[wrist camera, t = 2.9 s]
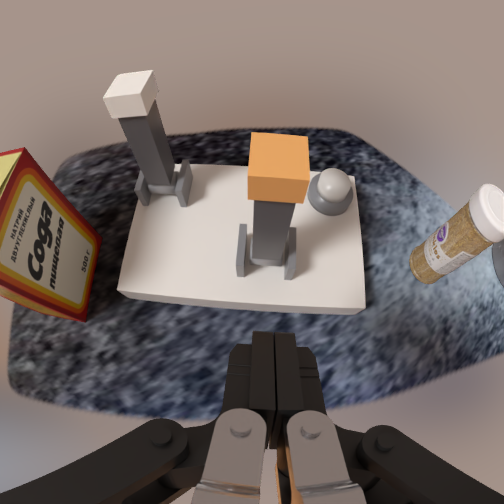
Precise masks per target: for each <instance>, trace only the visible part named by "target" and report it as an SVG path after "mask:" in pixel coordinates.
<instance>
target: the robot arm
mask: <svg viewBox="0 0 504 504" xmlns="http://www.w3.org/2000/svg"><path fill="white" fill-rule="evenodd" d="M493 263H494V267H495V270H496V273H497V276H498V278H499V280H500V282H501V284H502V285H503V287H504V239H503V240H501V241H500V242H497V243H494V244H493ZM317 368H318V367H317V362H316V357H315V356H314V354H313V353H312V352H311V350H310V349H309V348H308V347H296V340H295V334H294V333H283V332H274V335H273V332H263V331H253V335H252V345H249V344H237V345H236V346H235V347H234V348H233V350H232V351H231V352H230V356H229V363H228V370H227V377H226V384H225V391H224V399H223V406H222V410H221V412H220V414H219V416H218V417H217V418H216V419H215V420H213V421H212V422H210V423H208V424H206V425H202V426H197V427H189V428H183V427H182V426H181V425H180V424H179V423H177V422H175V421H173V420H170V419H163V418H160V419H153V420H150V421H148V422H146V423H145V424H143V425H141V426H139V427H138V428H136V429H134V430H133V431H131V432H129V433H127V434H125V435H124V436H122V437H120V438H118V439H116V440H115V441H113V442H111V443H109V444H107V445H105V446H104V447H102V448H100V449H98V450H96V451H94V452H92V453H90V454H88V455H86V456H84V457H82V458H81V459H78V460H76V461H74V462H72V463H70V464H68V465H66V466H64V467H62V468H60V469H58V470H56V471H54V472H51V473H49V474H47V475H45V476H42V477H40V478H38V479H36V480H33V481H31V482H28V483H26V484H23V485H21V486H19V487H16V488H14V489H11V490H8V491H6V492H3V493H0V504H169V503H171V502H172V501H174V500H175V499H177V498H178V497H180V496H181V495H182V494H184V493H185V492H187V491H188V490H190V489H191V488H192V487H196V488H195V491H194V494H193V497H192V501H191V504H259V500H260V483H261V474H262V465H263V456H264V452H265V449H267V447H268V443H269V449H277V462H276V465H275V475H276V484H277V493H278V503H279V504H504V496H503V495H501V494H500V493H498V492H496V491H494V490H492V489H490V488H489V487H487V486H485V485H484V484H482V483H480V482H479V481H477V480H475V479H473V478H472V477H470V476H468V475H467V474H465V473H463V472H462V471H460V470H459V469H457V468H455V467H454V466H452V465H451V464H449V463H447V462H446V461H444V460H443V459H441V458H439V457H438V456H436V455H435V454H433V453H432V452H430V451H429V450H427V449H426V448H424V447H423V446H421V445H419V444H418V443H416V442H415V441H413V440H412V439H410V438H409V437H407V436H406V435H404V434H403V433H402V432H400V431H399V430H397V429H395V428H394V427H391V426H387V425H378V426H375V427H372V428H370V429H369V430H368V431H367V432H366V433H361V432H356V431H351V430H346V429H343V428H341V427H338V426H337V425H335V424H334V423H333V421H332V420H331V419H330V418H329V417H328V416H327V414H326V410H325V404H324V399H323V393H322V388H321V383H320V379H319V372H318V370H317Z"/></svg>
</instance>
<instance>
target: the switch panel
mask: <svg viewBox="0 0 504 504" xmlns="http://www.w3.org/2000/svg"><path fill="white" fill-rule="evenodd" d="M174 171H178V172H179V176H178V180H177V184H176V188H175V193H176V194H151V193H150V192H149V189H148V184H147V182H146V180H145V177H144V175H143V173H142V171H141V170H140V173H139V177H138V180H137V183H136V186H135V189H134V191H135V193H136V195H137V196H138V198H139V199H138V203H137V206H136V210H135V214H134V217H133V221H132V225H131V229H130V233H129V237H128V241H127V245H126V249H125V254H124V258H123V263H122V268H121V272H120V277H119V282H118V287H117V290H118V291H119V292H121V293H122V294H124V295H125V296H126V297H128V298H131V299H139V300H147V301H156V302H165V303H174V304H183V305H193V306H204V307H215V308H227V309H240V310H254V311H270V312H288V313H310V314H341V315H355V314H357V313H358V312H360V311H362V310H363V309H365V282H364V265H363V252H362V240H361V229H360V220H359V211H358V202H357V194H356V187H355V180H354V176H348V175H347V174H346V173H344V172H343V171H341V170H339V169H335V168H329V169H326V170H324V171H323V172H313V171H310V183H309V186H308V189H307V193H306V196H305V199H304V203H303V204H300V203H296V205H295V209H294V213H293V216H292V220H291V224H290V228H289V231H288V235H287V239H286V242H285V246H284V250H283V260H282V266H281V267H279V266H264V265H249V261H250V245H251V238H253V211H254V200H248V166H230V165H198V164H190V163H189V160H182V164H175V169H174Z"/></svg>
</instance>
